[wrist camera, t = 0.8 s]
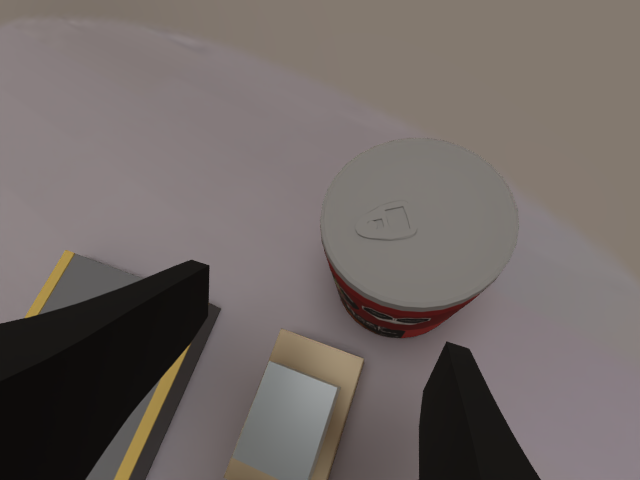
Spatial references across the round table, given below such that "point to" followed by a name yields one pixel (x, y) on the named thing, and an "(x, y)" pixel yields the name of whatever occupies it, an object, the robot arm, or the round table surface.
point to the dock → (161, 402)
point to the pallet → (323, 366)
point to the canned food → (416, 233)
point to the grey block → (287, 423)
